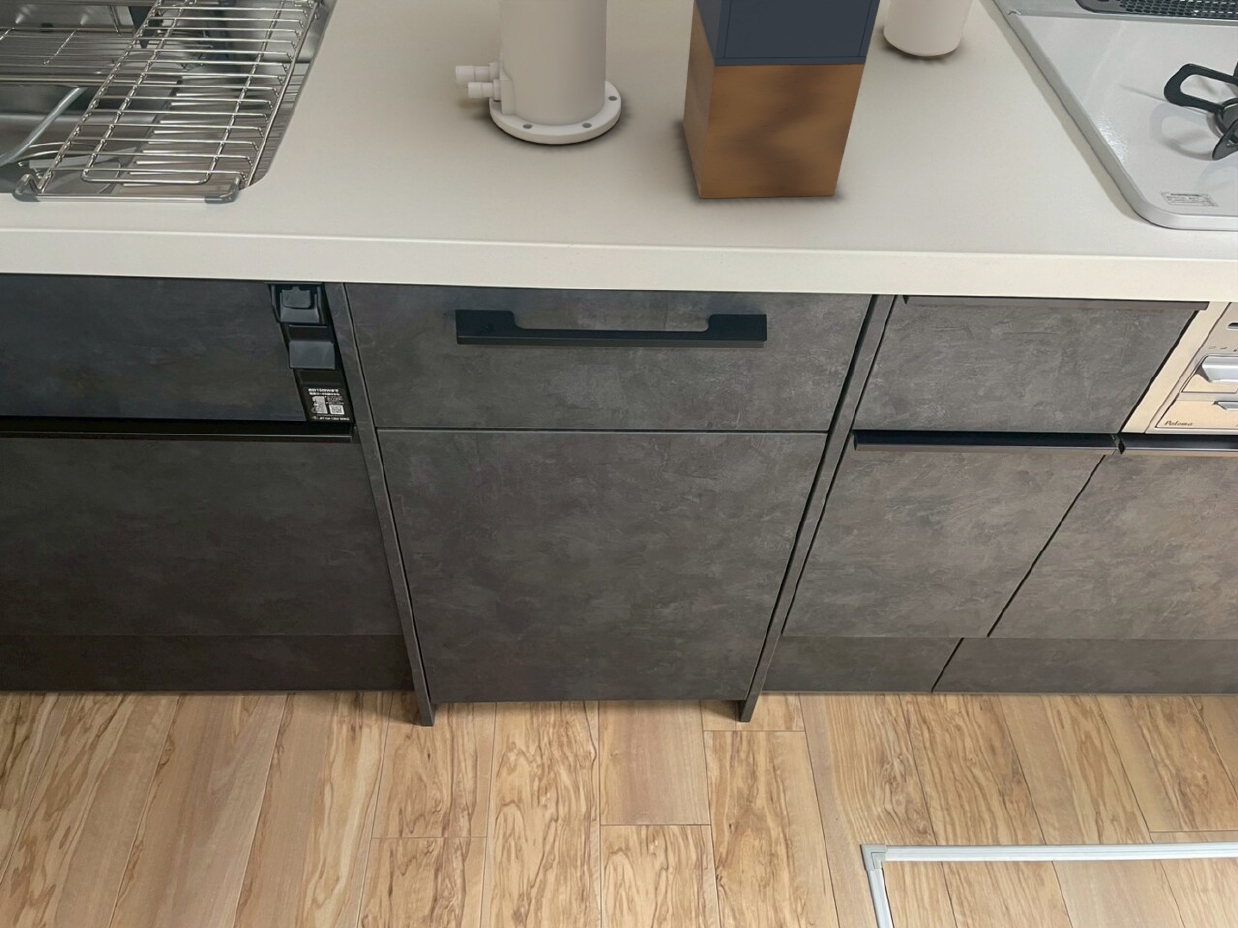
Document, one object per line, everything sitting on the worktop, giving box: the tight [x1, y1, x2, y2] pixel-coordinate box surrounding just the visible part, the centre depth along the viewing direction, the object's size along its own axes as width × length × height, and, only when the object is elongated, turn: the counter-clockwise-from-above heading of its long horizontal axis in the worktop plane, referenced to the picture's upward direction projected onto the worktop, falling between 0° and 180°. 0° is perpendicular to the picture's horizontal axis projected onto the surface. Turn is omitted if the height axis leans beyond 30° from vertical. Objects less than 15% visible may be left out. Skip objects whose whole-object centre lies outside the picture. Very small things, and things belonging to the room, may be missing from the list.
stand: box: [682, 0, 866, 199], centre depth 82 cm, size 12×12×12 cm
